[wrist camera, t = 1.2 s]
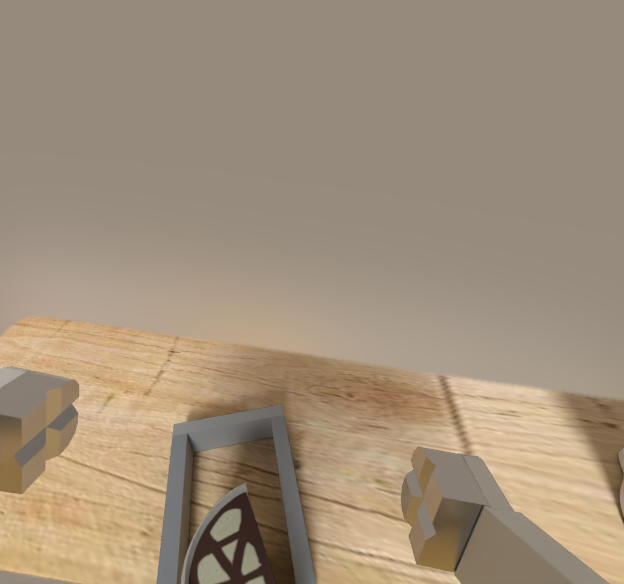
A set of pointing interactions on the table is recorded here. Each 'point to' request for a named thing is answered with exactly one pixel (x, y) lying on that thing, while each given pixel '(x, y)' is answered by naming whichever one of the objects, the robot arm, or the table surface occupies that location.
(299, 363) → the table surface
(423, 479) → the robot arm
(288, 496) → the grey rectangular tray
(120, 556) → the table surface
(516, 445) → the table surface
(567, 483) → the table surface
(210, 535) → the food container
